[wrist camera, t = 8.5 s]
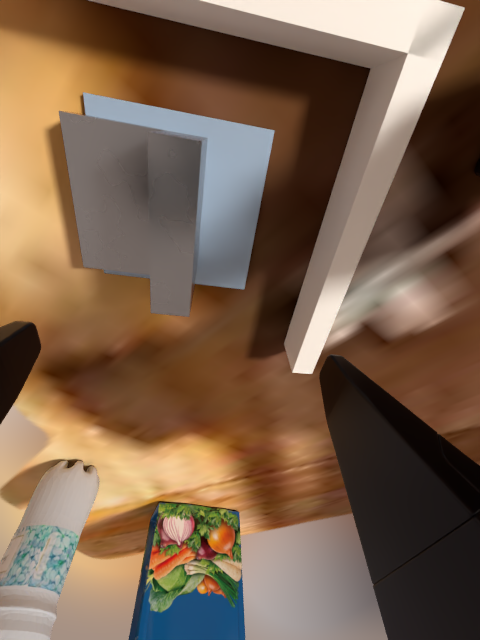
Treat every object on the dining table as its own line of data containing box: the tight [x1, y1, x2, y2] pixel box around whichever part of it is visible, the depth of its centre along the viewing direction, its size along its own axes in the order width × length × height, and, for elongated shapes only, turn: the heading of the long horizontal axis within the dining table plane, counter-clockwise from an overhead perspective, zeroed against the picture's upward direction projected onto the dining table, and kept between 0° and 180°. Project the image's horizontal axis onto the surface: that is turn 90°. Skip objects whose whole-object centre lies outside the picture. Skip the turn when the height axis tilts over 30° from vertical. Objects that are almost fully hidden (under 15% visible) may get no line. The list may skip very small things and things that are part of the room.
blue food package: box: [129, 502, 245, 640], centre depth 32 cm, size 6×12×25 cm, turn 68°
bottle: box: [0, 460, 99, 640], centre depth 26 cm, size 7×7×20 cm
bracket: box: [59, 111, 208, 317], centre depth 15 cm, size 8×7×6 cm
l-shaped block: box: [88, 0, 465, 374], centre depth 17 cm, size 20×20×4 cm
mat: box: [83, 93, 275, 289], centre depth 18 cm, size 10×10×1 cm
